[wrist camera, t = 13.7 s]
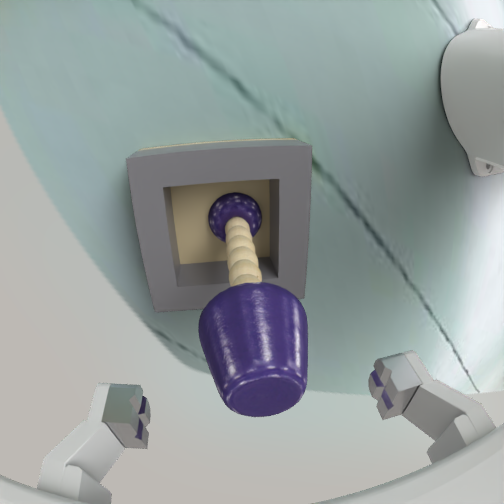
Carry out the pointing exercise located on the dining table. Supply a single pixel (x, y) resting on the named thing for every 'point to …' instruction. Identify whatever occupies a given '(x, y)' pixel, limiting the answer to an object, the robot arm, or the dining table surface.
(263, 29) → the dining table surface
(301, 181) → the socket block
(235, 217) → the toy lamp
